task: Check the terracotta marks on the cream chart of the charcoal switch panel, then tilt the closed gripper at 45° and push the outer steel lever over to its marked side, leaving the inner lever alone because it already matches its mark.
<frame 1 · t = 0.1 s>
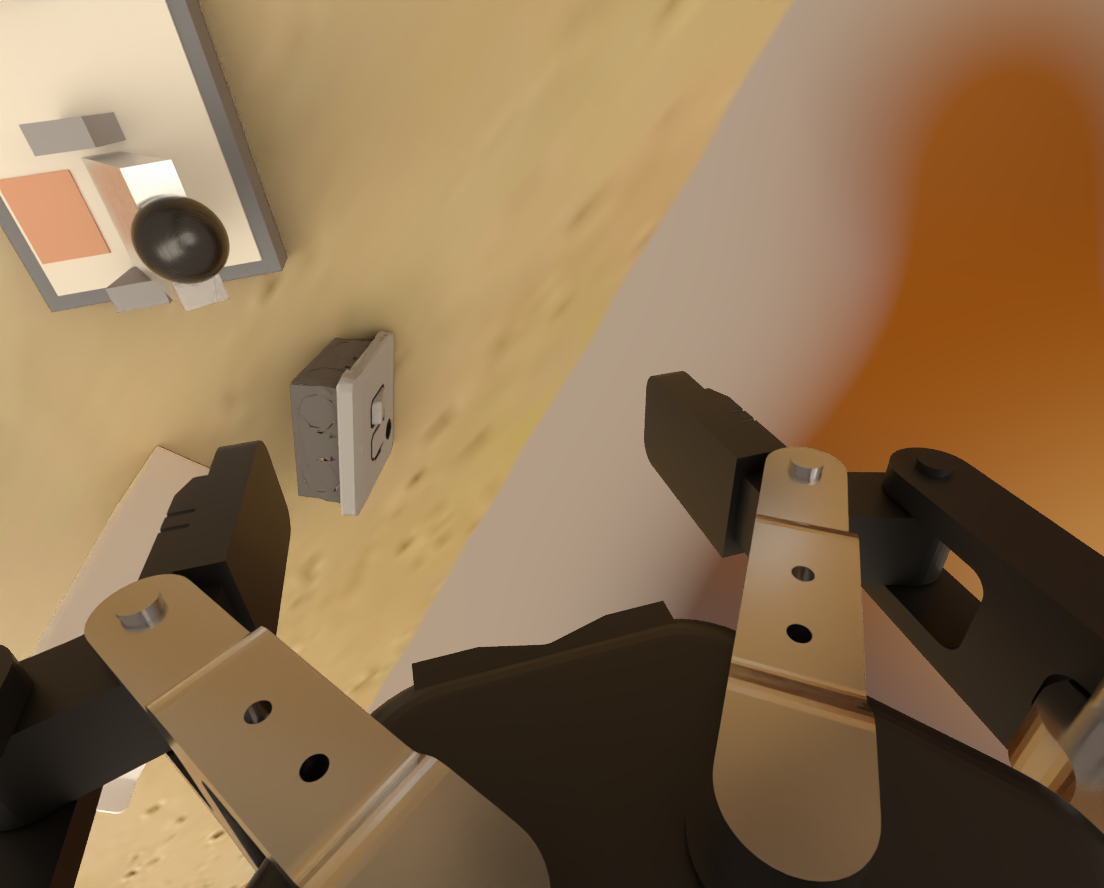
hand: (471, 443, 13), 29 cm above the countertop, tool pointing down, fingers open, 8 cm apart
switch panel: (85, 57, 30), on the countertop
milk: (182, 492, 43), on the countertop
electrical switch: (353, 391, 42), on the countertop
lever outer: (152, 224, 25), point 10 cm above the countertop, hinge at -25.0°
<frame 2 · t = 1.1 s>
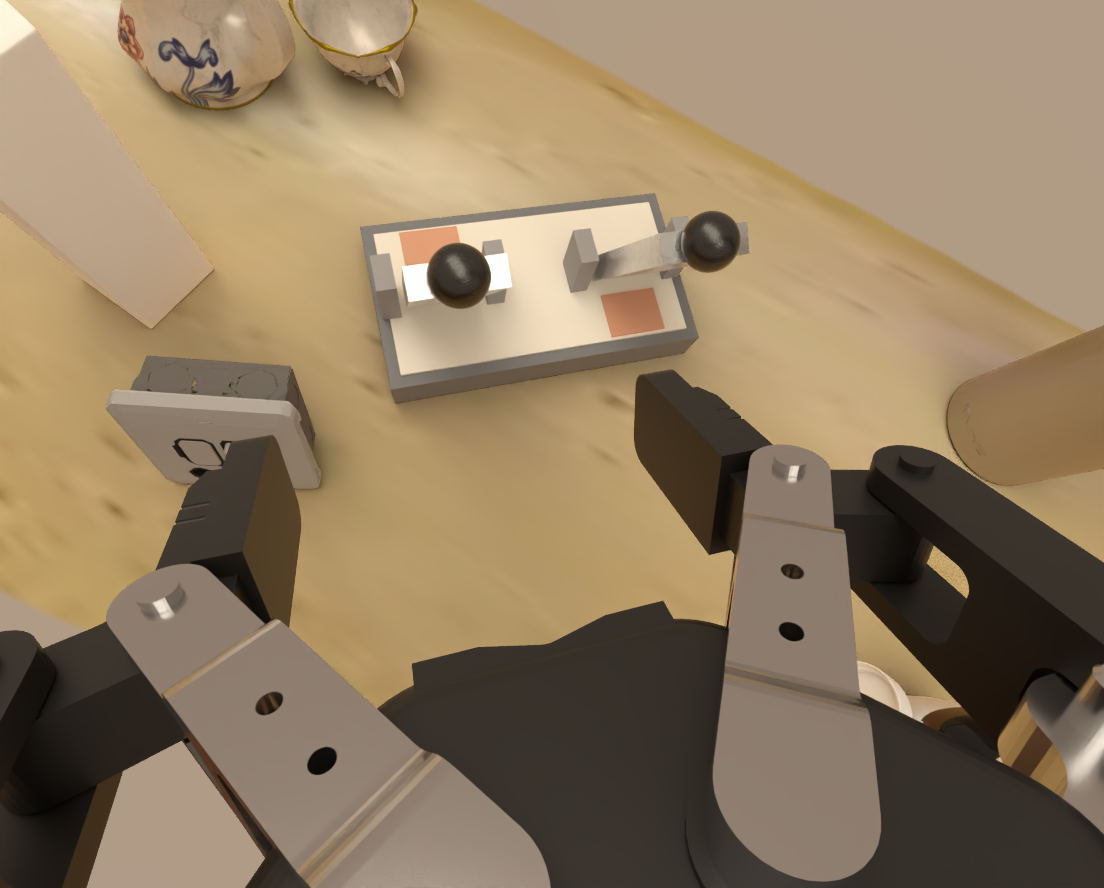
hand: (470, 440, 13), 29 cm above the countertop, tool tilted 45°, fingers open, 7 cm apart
switch panel: (528, 303, 45), on the countertop
milk: (151, 275, 42), on the countertop
lever inner: (665, 254, 36), point 10 cm above the countertop, hinge at -25.0°
spread jar: (866, 749, 42), on the countertop
electrical switch: (251, 447, 40), on the countertop
chinaware: (243, 42, 47), on the countertop
lever outer: (450, 283, 33), point 10 cm above the countertop, hinge at -25.0°
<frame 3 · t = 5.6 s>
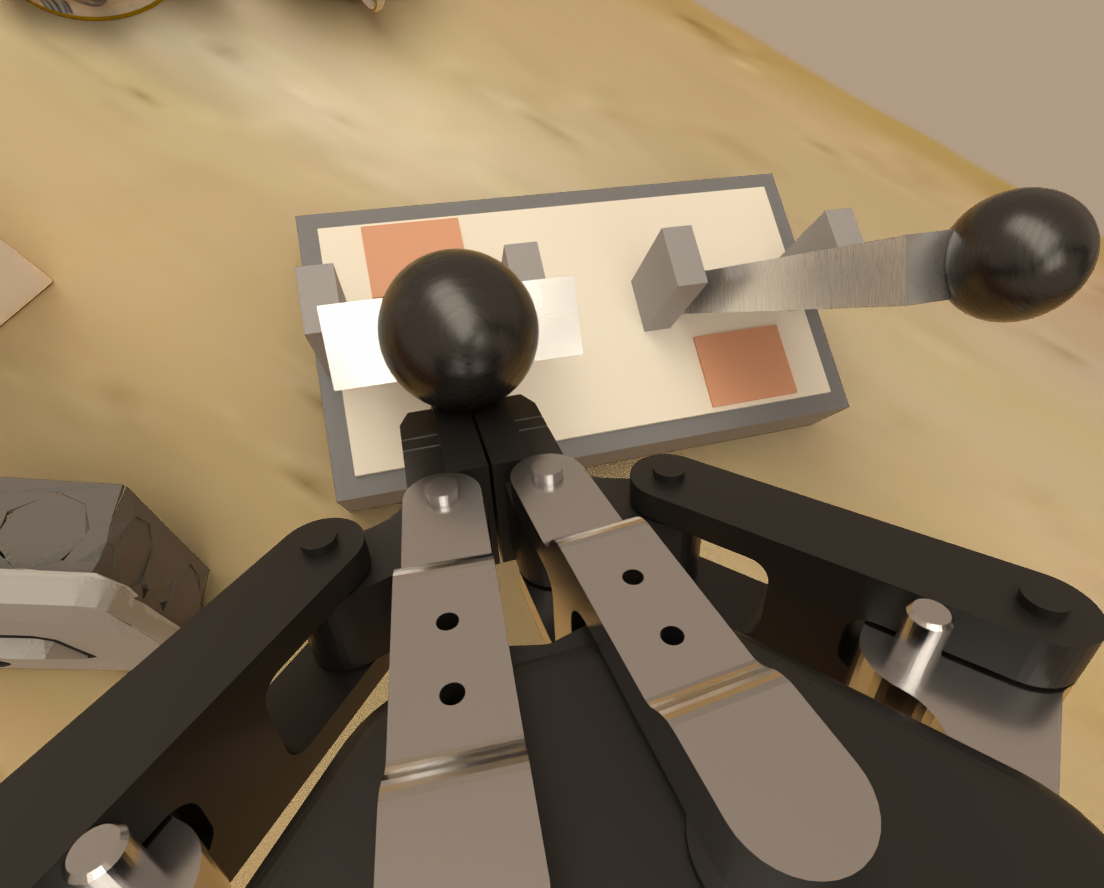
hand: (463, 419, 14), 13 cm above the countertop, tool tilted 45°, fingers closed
switch panel: (570, 343, 29), on the countertop
lever inner: (847, 275, 19), point 10 cm above the countertop, hinge at -25.0°
electrical switch: (95, 593, 23), on the countertop
lever outer: (441, 329, 17), point 10 cm above the countertop, hinge at -25.0°, touching gripper
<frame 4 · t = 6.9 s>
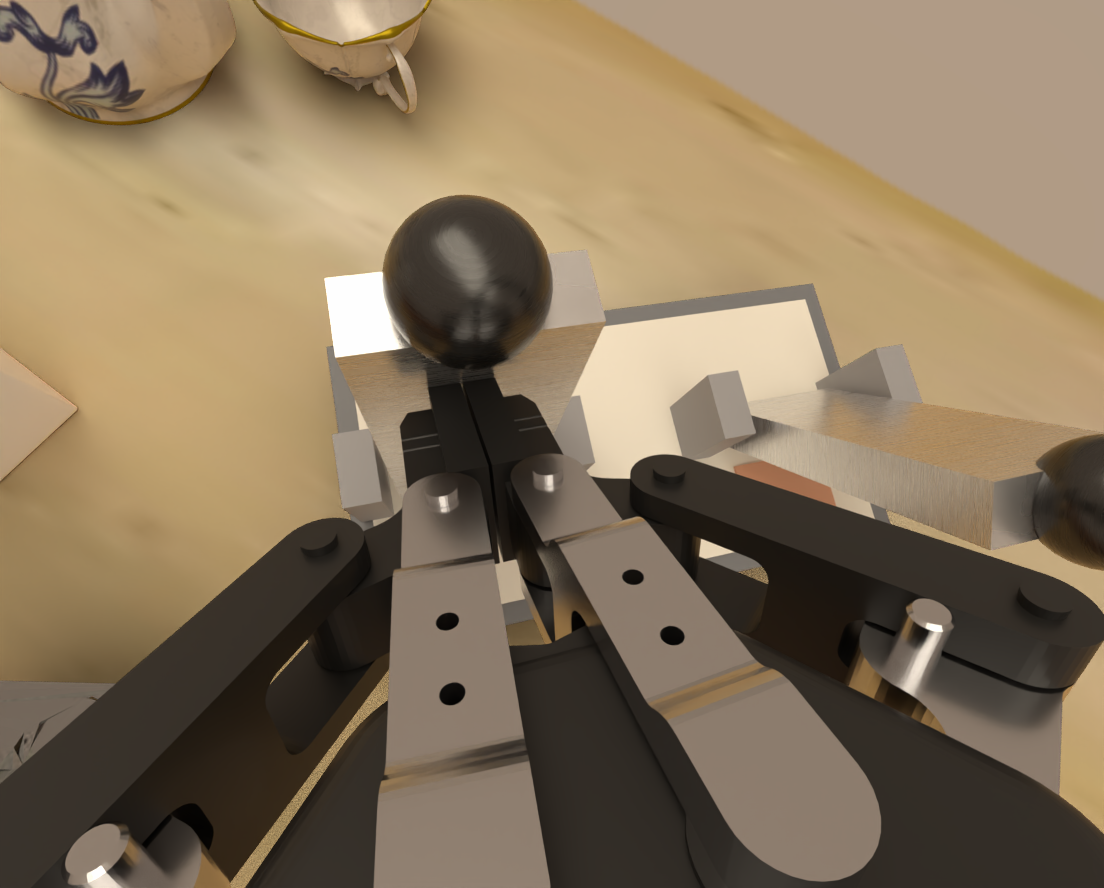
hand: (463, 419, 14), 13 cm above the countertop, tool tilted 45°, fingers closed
switch panel: (604, 459, 28), on the countertop
lever inner: (908, 450, 18), point 10 cm above the countertop, hinge at -25.0°
electrical switch: (121, 741, 23), on the countertop
chinaware: (167, 18, 30), on the countertop
lever outer: (467, 398, 16), point 11 cm above the countertop, hinge at 3.9°, touching gripper
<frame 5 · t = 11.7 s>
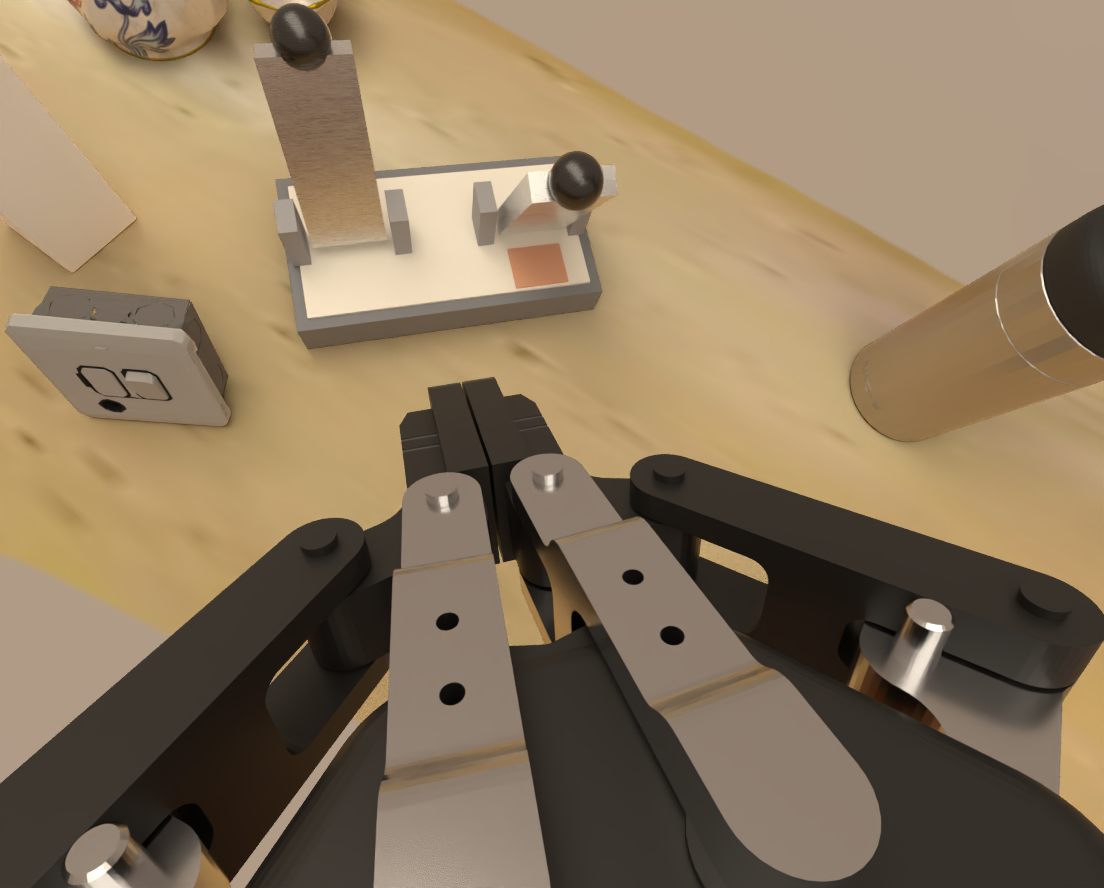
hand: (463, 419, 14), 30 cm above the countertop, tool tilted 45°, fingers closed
switch panel: (443, 258, 47), on the countertop
milk: (75, 223, 43), on the countertop
lever inner: (552, 201, 38), point 10 cm above the countertop, hinge at -25.0°
electrical switch: (165, 386, 42), on the countertop
lever outer: (325, 139, 36), point 11 cm above the countertop, hinge at 19.7°
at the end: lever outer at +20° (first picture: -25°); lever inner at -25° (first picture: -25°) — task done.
